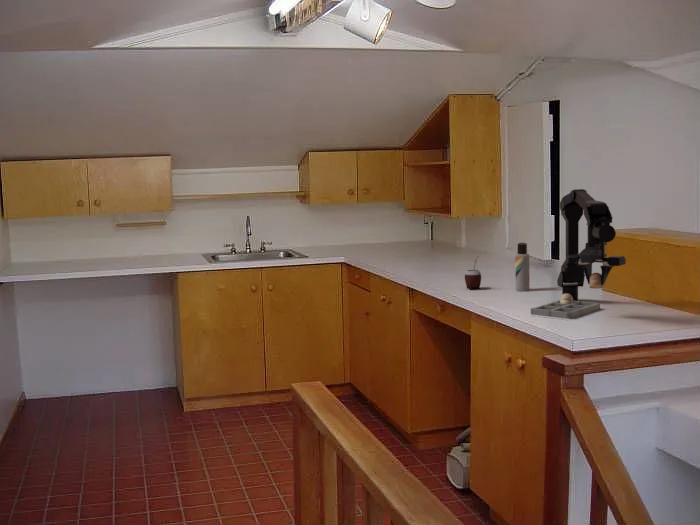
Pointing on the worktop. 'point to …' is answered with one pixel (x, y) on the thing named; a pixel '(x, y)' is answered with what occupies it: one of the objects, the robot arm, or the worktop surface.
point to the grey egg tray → (565, 309)
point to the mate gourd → (473, 278)
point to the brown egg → (595, 281)
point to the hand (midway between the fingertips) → (596, 284)
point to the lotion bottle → (522, 268)
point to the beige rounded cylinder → (566, 299)
